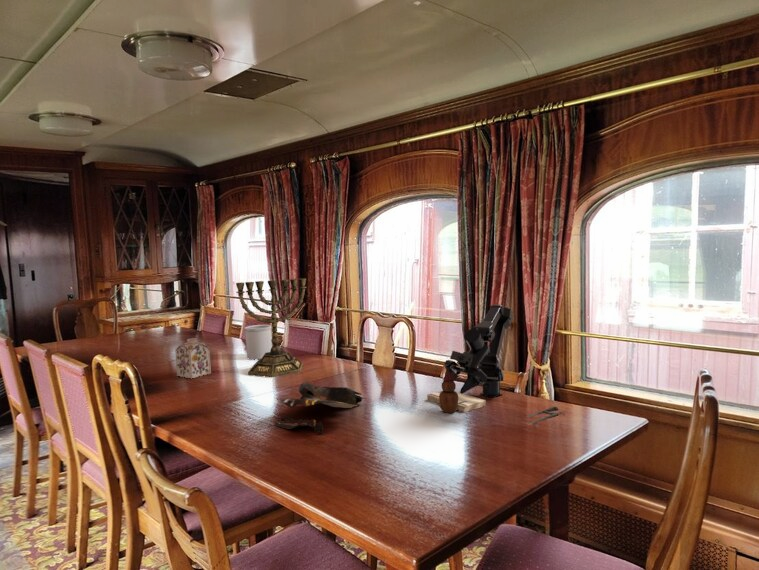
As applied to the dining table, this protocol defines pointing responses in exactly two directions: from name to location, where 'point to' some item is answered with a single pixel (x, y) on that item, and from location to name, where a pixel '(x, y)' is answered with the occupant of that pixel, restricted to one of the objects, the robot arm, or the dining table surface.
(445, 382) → the wooden figurine
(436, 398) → the maple board
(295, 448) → the dining table surface
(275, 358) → the menorah
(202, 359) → the decorative jar
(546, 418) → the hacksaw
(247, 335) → the utensil holder
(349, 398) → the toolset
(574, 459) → the dining table surface
